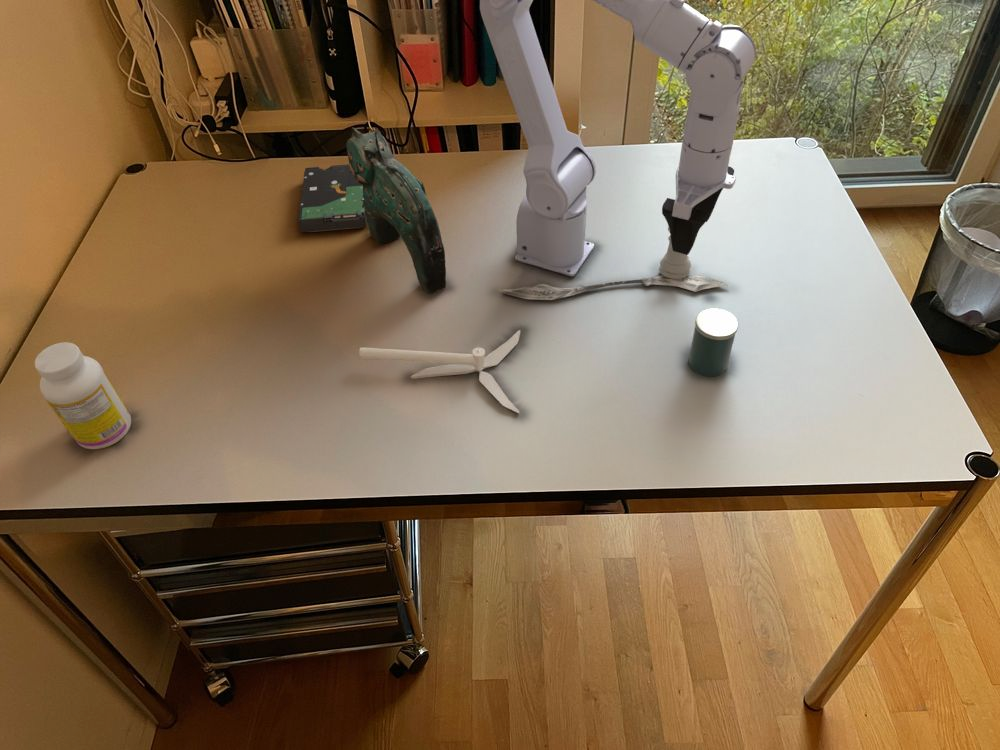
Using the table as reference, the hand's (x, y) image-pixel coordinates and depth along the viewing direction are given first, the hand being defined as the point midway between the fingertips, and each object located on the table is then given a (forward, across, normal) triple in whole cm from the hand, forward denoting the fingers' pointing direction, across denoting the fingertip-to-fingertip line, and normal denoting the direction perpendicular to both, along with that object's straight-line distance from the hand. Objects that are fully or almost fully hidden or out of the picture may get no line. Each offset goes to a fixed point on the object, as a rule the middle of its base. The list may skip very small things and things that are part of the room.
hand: (690, 234), depth 101 cm
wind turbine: (+10, -27, +22) cm, 36 cm away
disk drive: (+10, -3, +57) cm, 58 cm away
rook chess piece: (+10, +3, +2) cm, 11 cm away
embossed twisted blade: (+10, -4, +9) cm, 14 cm away
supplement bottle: (+10, -54, +54) cm, 77 cm away
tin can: (+10, -11, -8) cm, 17 cm away
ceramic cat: (+10, -10, +38) cm, 41 cm away
